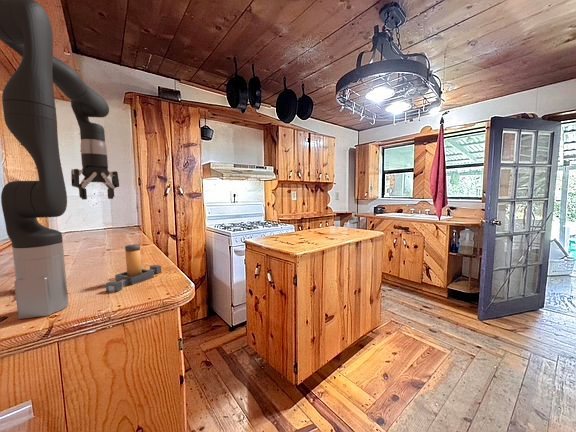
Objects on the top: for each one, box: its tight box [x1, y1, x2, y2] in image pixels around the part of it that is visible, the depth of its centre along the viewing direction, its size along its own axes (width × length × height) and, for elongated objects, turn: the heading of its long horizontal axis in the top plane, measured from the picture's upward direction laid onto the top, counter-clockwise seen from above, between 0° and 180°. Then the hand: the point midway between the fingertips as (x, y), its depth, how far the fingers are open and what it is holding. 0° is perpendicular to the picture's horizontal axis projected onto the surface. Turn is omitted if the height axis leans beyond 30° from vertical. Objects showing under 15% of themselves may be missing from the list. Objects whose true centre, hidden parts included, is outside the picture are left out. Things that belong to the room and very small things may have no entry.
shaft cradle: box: [105, 264, 162, 293], centre depth 88 cm, size 20×10×3 cm, turn 157°
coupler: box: [124, 244, 143, 276], centre depth 89 cm, size 4×4×12 cm
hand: (98, 199), depth 94 cm, fingers open, 8 cm apart
